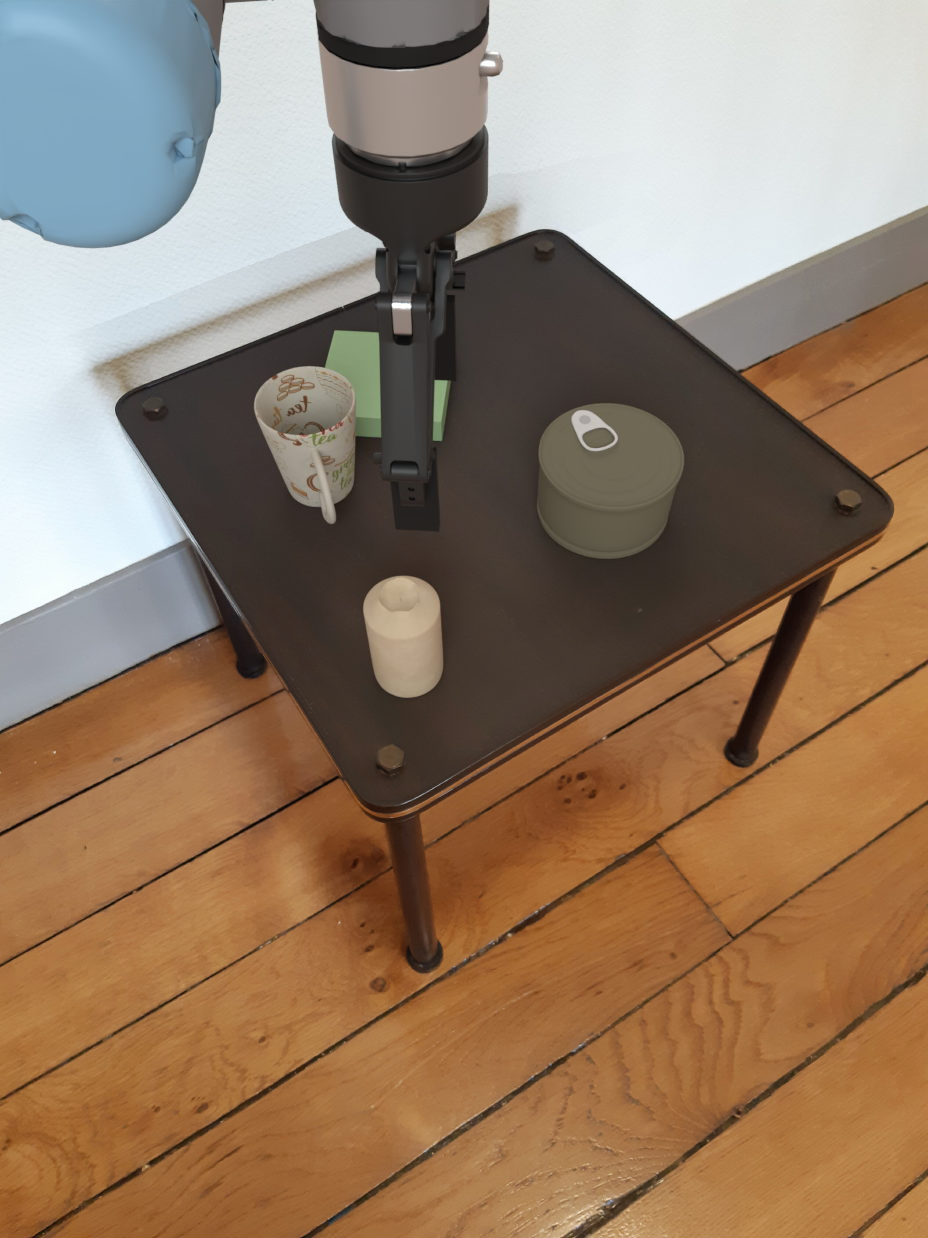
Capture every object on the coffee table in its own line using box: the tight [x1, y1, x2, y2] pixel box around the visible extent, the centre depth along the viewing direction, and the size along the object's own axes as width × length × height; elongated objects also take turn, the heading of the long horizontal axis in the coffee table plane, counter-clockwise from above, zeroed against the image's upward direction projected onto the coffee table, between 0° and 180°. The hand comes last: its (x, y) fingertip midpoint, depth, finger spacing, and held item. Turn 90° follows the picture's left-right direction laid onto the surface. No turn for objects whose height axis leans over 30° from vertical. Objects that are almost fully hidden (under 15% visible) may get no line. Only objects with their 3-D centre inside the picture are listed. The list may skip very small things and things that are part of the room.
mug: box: [253, 365, 356, 525], centre depth 80 cm, size 8×13×10 cm, turn 18°
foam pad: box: [324, 329, 452, 442], centre depth 91 cm, size 12×12×2 cm
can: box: [536, 402, 685, 560], centre depth 81 cm, size 12×12×7 cm
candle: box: [362, 575, 444, 699], centre depth 70 cm, size 6×6×10 cm
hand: (428, 447), depth 62 cm, fingers open, 13 cm apart
